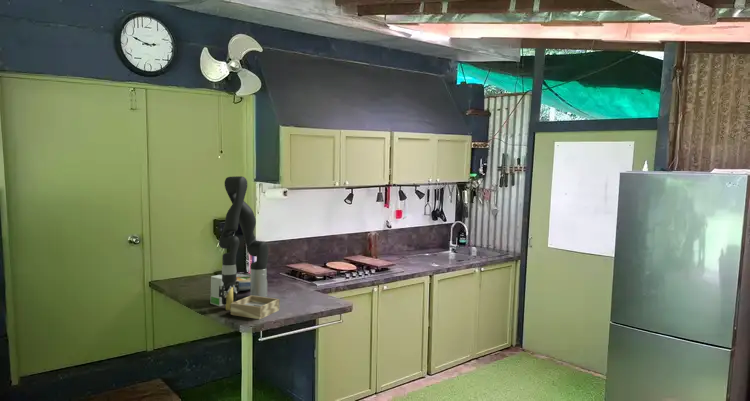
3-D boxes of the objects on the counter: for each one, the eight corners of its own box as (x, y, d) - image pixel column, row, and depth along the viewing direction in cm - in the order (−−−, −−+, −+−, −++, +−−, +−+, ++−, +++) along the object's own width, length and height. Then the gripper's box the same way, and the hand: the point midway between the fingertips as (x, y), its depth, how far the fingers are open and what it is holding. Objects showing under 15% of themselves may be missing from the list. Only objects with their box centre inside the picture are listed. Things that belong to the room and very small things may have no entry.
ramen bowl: (215, 290, 319) (215, 277, 318) (241, 283, 339) (241, 270, 338) (246, 296, 307) (246, 282, 306) (271, 288, 327) (271, 275, 327)
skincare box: (210, 304, 289) (209, 276, 288) (219, 301, 295) (219, 274, 293) (220, 306, 284) (220, 278, 283) (229, 303, 290) (229, 276, 289)
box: (251, 306, 286) (251, 295, 286) (279, 310, 280) (279, 299, 279) (230, 314, 270) (230, 303, 269) (260, 319, 263) (260, 307, 263)
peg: (228, 307, 282) (228, 285, 282) (234, 308, 281) (234, 286, 280) (223, 309, 279) (223, 287, 278) (230, 310, 277) (230, 288, 276)
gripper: (231, 269, 286) (231, 298, 288) (214, 274, 273) (214, 304, 274) (243, 270, 284) (243, 300, 285) (226, 275, 270) (226, 306, 272)
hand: (229, 302), depth 280 cm, fingers open, 8 cm apart
